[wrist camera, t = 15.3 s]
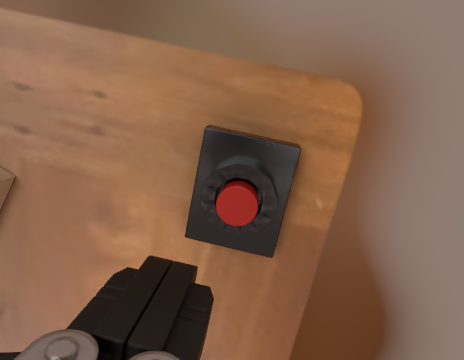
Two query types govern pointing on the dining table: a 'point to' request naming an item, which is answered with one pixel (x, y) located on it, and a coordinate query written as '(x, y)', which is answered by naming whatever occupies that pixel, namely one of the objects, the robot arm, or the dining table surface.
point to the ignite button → (237, 203)
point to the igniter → (247, 170)
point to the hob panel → (5, 184)
